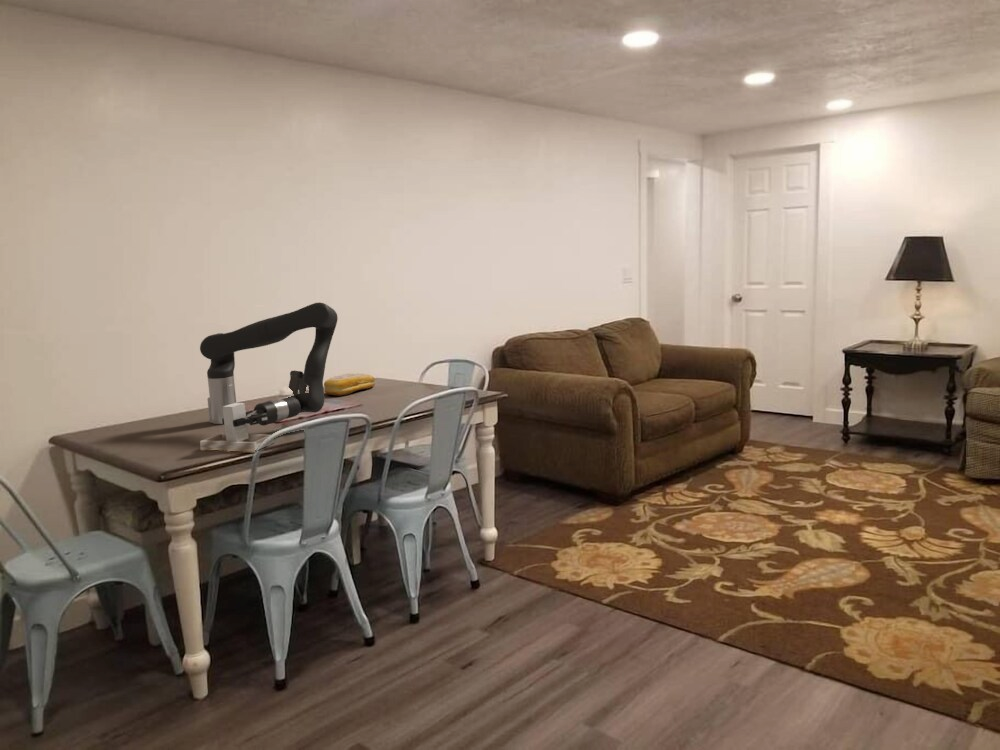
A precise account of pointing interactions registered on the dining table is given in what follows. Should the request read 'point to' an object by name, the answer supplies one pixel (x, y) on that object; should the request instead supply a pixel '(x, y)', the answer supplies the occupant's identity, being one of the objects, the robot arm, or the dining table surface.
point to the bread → (348, 384)
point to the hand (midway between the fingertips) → (228, 422)
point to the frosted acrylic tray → (232, 443)
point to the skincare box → (229, 415)
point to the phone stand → (297, 382)
